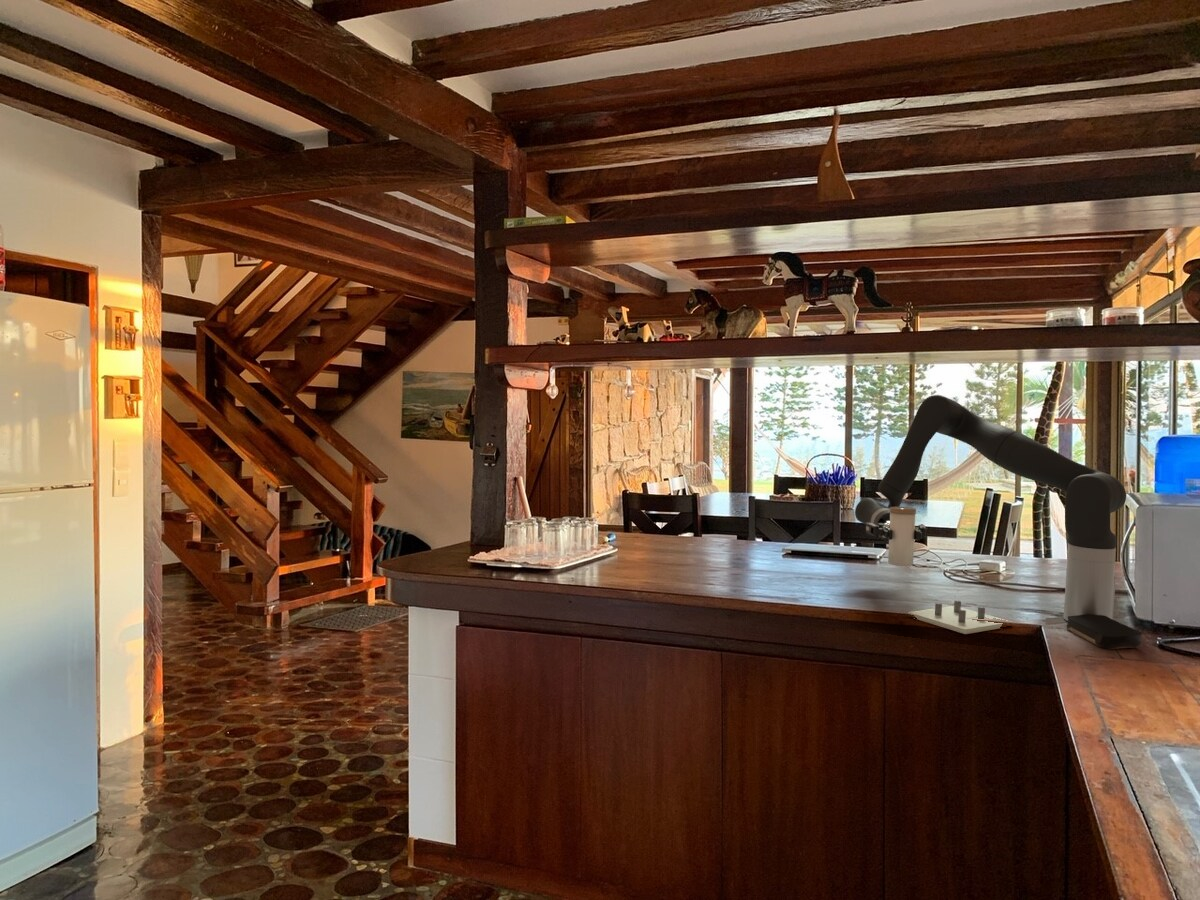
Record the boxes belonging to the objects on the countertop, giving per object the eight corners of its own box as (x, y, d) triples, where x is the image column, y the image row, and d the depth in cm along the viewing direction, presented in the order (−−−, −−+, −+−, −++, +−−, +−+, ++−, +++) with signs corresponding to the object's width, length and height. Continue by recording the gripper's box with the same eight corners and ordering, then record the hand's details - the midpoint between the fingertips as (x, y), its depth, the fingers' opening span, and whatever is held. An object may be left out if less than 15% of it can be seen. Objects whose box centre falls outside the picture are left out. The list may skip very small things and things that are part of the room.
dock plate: (953, 609, 193) (954, 595, 193) (1011, 626, 180) (1012, 610, 180) (908, 616, 186) (908, 601, 186) (965, 634, 173) (965, 617, 173)
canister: (899, 560, 197) (901, 506, 196) (919, 564, 191) (921, 509, 191) (882, 562, 194) (884, 507, 193) (901, 566, 189) (903, 510, 188)
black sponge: (1146, 653, 163) (1148, 635, 163) (1102, 651, 164) (1103, 633, 163) (1101, 630, 179) (1102, 613, 179) (1061, 628, 180) (1062, 612, 180)
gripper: (859, 508, 207) (872, 518, 190) (919, 510, 205) (938, 520, 188) (858, 538, 207) (871, 550, 191) (917, 540, 206) (936, 553, 189)
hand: (904, 535), depth 190 cm, fingers closed on canister, 5 cm apart
